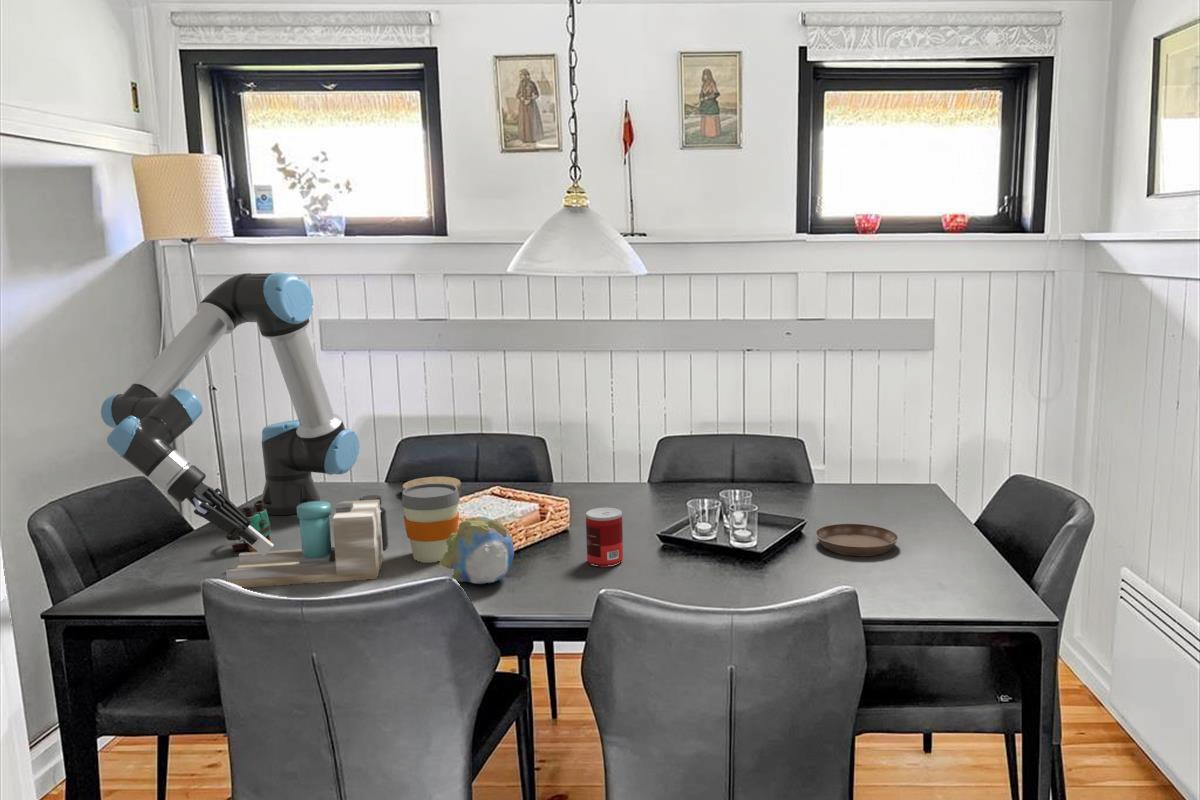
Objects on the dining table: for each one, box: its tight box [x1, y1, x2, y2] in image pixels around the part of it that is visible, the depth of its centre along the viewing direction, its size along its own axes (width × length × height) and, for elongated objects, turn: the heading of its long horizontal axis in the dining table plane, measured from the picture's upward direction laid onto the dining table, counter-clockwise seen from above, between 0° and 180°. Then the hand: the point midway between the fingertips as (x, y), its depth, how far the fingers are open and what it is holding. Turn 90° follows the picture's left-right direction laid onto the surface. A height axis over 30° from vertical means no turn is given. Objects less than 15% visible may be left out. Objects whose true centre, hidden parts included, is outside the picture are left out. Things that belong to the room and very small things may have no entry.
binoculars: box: [225, 499, 274, 552], centre depth 220 cm, size 9×10×10 cm
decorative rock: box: [439, 516, 515, 585], centre depth 195 cm, size 14×16×15 cm
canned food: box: [585, 507, 624, 566], centre depth 204 cm, size 8×8×11 cm
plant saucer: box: [815, 523, 899, 557], centre depth 211 cm, size 18×18×3 cm
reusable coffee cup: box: [401, 483, 460, 563], centre depth 210 cm, size 13×13×15 cm
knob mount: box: [225, 499, 384, 588], centre depth 201 cm, size 13×30×14 cm, turn 97°
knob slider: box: [296, 500, 335, 564], centre depth 201 cm, size 7×7×13 cm
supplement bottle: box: [358, 494, 390, 551], centre depth 217 cm, size 7×7×12 cm
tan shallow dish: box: [402, 476, 462, 495], centre depth 264 cm, size 16×16×3 cm
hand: (268, 550), depth 200 cm, fingers closed
